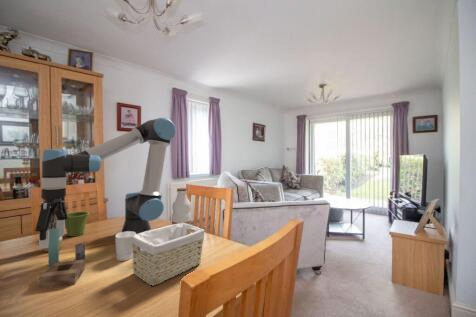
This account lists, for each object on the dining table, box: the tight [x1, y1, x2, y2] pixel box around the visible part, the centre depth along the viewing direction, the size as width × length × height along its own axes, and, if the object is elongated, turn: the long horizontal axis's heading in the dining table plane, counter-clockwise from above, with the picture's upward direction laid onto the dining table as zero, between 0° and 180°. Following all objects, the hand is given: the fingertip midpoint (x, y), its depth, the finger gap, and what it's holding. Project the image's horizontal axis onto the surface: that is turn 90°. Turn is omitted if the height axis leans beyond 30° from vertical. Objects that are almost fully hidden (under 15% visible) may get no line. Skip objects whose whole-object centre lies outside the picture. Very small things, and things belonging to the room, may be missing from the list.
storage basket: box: [131, 223, 205, 287], centre depth 87 cm, size 24×16×15 cm
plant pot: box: [64, 211, 90, 238], centre depth 121 cm, size 12×12×11 cm
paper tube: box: [42, 199, 63, 253], centre depth 102 cm, size 7×7×25 cm
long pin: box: [47, 228, 60, 268], centre depth 88 cm, size 3×3×14 cm
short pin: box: [74, 242, 86, 261], centre depth 91 cm, size 3×3×7 cm
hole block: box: [38, 258, 86, 290], centre depth 79 cm, size 10×10×4 cm
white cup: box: [114, 231, 136, 262], centre depth 96 cm, size 8×8×10 cm
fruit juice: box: [171, 187, 192, 235], centre depth 111 cm, size 9×9×28 cm
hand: (52, 241), depth 88 cm, fingers open, 13 cm apart
